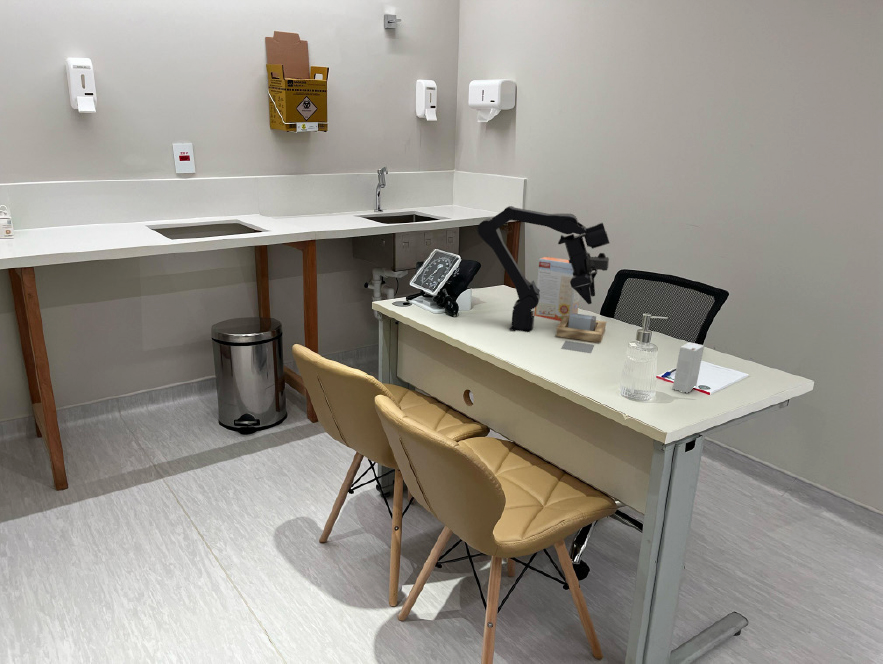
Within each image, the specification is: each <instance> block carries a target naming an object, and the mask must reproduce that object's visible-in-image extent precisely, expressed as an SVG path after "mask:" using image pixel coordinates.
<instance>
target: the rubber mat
mask: <svg viewBox="0 0 883 664" xmlns="http://www.w3.org/2000/svg"><path fill="white" fill-rule="evenodd" d="M594 348H595V344H590V343H585V342H578V341H571V340H565V341H564V342H563V344H562V346H561V348H560V350H565V351H567V350H568V351H572V352H573V351H574V352H580V353H584V354H585V353H586V354H592V352H593V350H594Z"/></svg>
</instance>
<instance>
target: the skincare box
mask: <svg viewBox="0 0 883 664" xmlns="http://www.w3.org/2000/svg"><path fill="white" fill-rule="evenodd" d="M704 348H705V345H703V344H698V343H694V342H687V343H685V344H683V345H682V346H680V347H679V352H678V358H677V363H676V368H675V373H674V380H673V385H672V390H674V389H675V390H674V391H676V390H679V391H682V392H681V393H683V392H686V393H685V394H689V393H690V392H692V391H693V390H694V389H693V387H694V386H696V387H697V385H698V379H699V375H700V371H701V369H700V368H701V363H702V359H703V353H704ZM692 389H693V390H692ZM691 390H692V391H691ZM679 391H678V392H679ZM688 392H689V393H688Z"/></svg>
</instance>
